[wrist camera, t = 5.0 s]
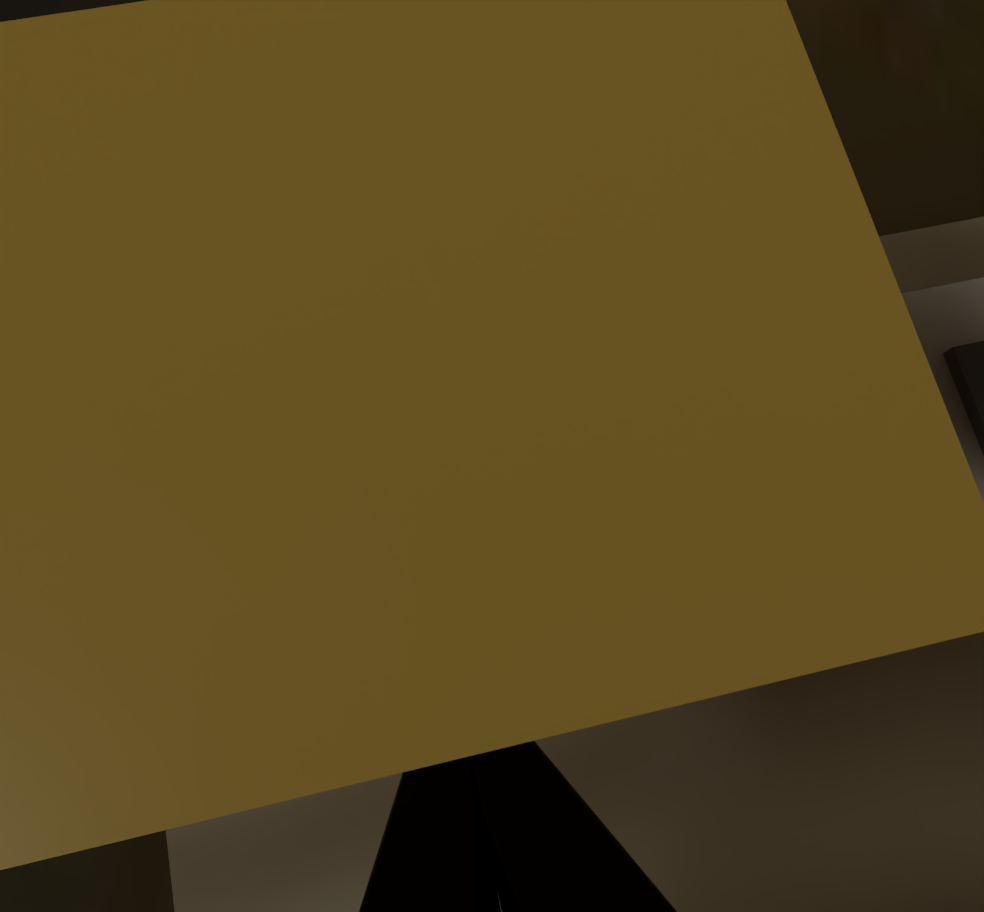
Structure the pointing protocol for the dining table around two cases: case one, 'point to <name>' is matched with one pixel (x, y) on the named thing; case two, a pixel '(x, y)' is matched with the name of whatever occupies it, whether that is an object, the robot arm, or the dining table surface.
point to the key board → (728, 744)
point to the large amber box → (434, 394)
